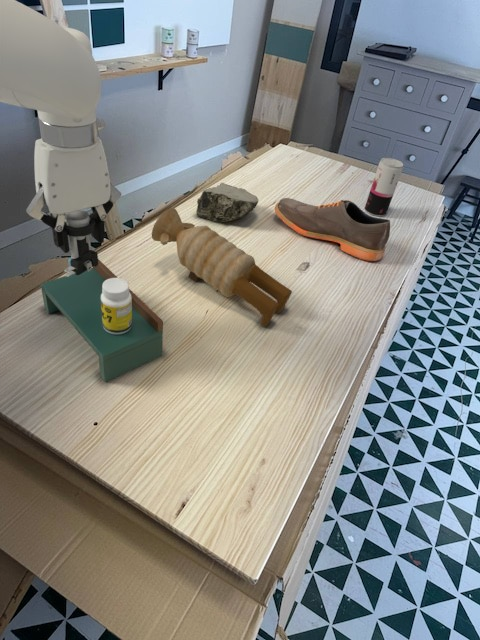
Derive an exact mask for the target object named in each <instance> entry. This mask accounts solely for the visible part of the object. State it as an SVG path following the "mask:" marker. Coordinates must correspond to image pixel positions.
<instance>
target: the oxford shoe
mask: <svg viewBox="0 0 480 640" xmlns="http://www.w3.org/2000/svg"><path fill="white" fill-rule="evenodd" d="M274 213H275V214H276V216H277V217H278V218H279V219H280V220H281V221H282V222H283V223H284V224H285V225H286V226H288V227H289V229H291V230H293V231H294V232H296V233H298V234H299V235H301V236H304V237H305V238H311V239H317V240H323V241H330V242H335V243H338V244H340V251H342V252H344V253H346V254H348V255H350V256H352V257H355V258H357V259H360V260H363V261H368V262H377V261H380V260H381V259H383V257H384V255H385V251H386V245H387V244H388V241H389V238H390V234H391V220H390V219H387V218H381V217H377V216H373V215H371V214H369V213H368V214H367V212H365V211H363V210H362V209H361V208H360V206H358V205H357V204H356V203H354V202H353V201H351V200H348V199H345V200H344V199H340V200H339V201H338V200H337V201H336V202H331V203H327V204H325V205H324V204H320V205H313V204H307V203H305V202H302V201H299V200H296V199H295V198H291V197H290V198H289V197H283V198H281V199H280V200H279V201H278V202H277V203H276V204H275V206H274Z"/></svg>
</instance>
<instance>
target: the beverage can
mask: <svg viewBox="0 0 480 640" xmlns="http://www.w3.org/2000/svg"><path fill="white" fill-rule="evenodd" d="M403 170H404V163H403V162H402V161H401V160H398V159H396V158H392V157H383V158H381V159H380V161H379V163H378V166H377V169H376V171H375V175H374V178H373V181H372V184H371V186H370V189H369V193H368V196H367V199H366V202H365V206H364V210H365V213H368V215H370V216H373V217H384V216H386V215H387V214H388V210H389V208H390V205H391V204H392V203H391V202H392V200H393V197H394V194H395V191H396V189H397V187H398V183H399V181H400V178H401V175H402V172H403Z"/></svg>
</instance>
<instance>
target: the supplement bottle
mask: <svg viewBox="0 0 480 640" xmlns="http://www.w3.org/2000/svg"><path fill="white" fill-rule="evenodd" d="M129 289H130V284H129V282H128V281H127V279H126V280H125V279H124V278H121V277H118V278H110V279H107V280H106V281H104V282H103V284H102V294H101V310H102V311H101V312H102V324H103V328H104V329H105V330H106V331H107V332H108V333H111V334H123V333H126V332H127V331H129V330H130V329H131V327H132V297H131V294H130V292H129Z"/></svg>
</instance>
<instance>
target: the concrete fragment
mask: <svg viewBox="0 0 480 640" xmlns="http://www.w3.org/2000/svg"><path fill="white" fill-rule="evenodd" d="M196 203H197V205H196V212H195V213H196V217H199V218H203V219H206V220H211V221H212V222H217V223H220V222H223V223H227V222H232V221H235V220H238V219H241V218H245V217H247V216H248V215H250V214H251V213H252V212H253V210H254V209H255V208H256V207H257V205H258V204H259V197H258V196H257V195H255V194H252V193H251V192H249V191H248V190H246V189H245V188H242V187H237V186H234V185H230V184H227V183H224V182H220V183H219V185H216V186H213V187H208V188H205V189H203V190H202V192H201V194H200V196H199V198H197V201H196Z"/></svg>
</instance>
